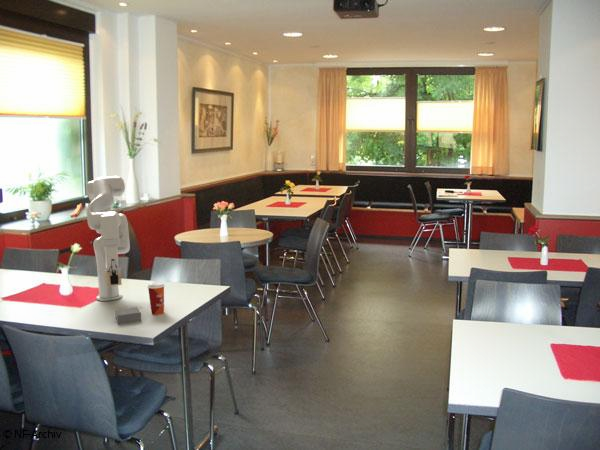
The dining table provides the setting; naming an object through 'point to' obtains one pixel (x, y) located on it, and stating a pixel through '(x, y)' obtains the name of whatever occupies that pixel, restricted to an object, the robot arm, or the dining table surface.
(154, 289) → the paper cup
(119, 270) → the oak cube
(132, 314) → the slate pedestal
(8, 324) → the dining table surface
